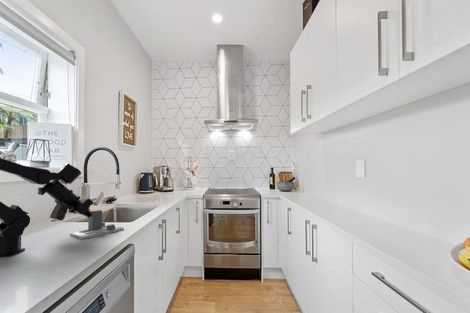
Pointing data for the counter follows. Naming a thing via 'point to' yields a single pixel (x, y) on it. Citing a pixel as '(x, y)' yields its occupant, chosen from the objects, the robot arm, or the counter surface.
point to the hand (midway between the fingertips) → (89, 216)
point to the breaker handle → (95, 220)
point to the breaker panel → (97, 231)
